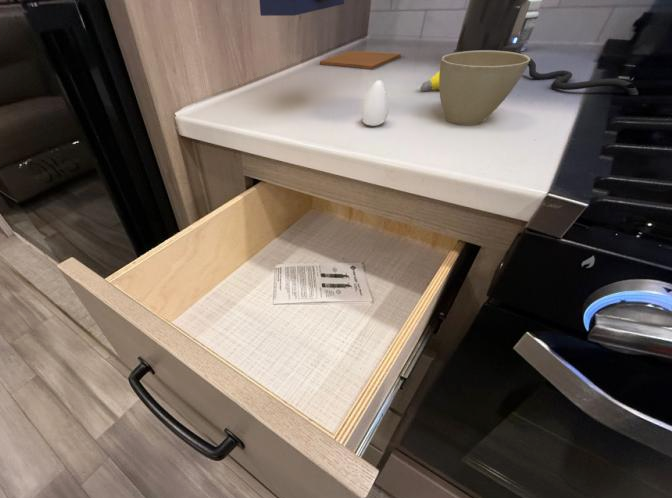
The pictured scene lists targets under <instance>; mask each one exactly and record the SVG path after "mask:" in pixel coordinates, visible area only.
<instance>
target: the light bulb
mask: <svg viewBox="0 0 672 498" xmlns="http://www.w3.org/2000/svg"><path fill="white" fill-rule="evenodd" d="M439 77H440V69H439V70H438V71H437V72H436V73H435V74H434V75H433V76H431V77H430V79H429V80H427V81H424V82H422V84H421V85H420V91H422V92H428V91H429V90H432V91H435V90H438V91H440V90H439Z"/></svg>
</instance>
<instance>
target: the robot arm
mask: <svg viewBox="0 0 672 498" xmlns="http://www.w3.org/2000/svg"><path fill="white" fill-rule="evenodd" d="M316 1H317V2H324V1H328V0H316ZM529 6H530V1H528V0H468V3H467V6H466V9H465V14H464V17H463V21H462V25H461V28H460V32H459V36H458V39H457V43H456V47H455V49H454V50H453V53H457V52H465V51H480V50H491V51H506V52H514V53H519V54H522V53H521V52H522V51H521V49H522V46H523V43H516V41H517V38H518V35H519V33H520V30H521V27H522V25H523V22H524V19H525V17H526V14H527V11H528V9H529ZM520 51H521V52H520ZM528 57H529V58H530V61H529V63H528V65H527V67H528V69H529V70H528V75H529V77H530V78H532V79H533V80H536V81H542V80H543V81H544V80H548V79H549V80H550V79H553V78H556V79H554V80H553V81H552V83H551V86H552V88H554V89H557V90H562V91H573V90H574V91H575V90H582V89H589V88H598V87H615V88H619V89H621V90H623V91H624V92H625V93H626V94H627V95H628V96H629V95H630V96H629V97H632V96H631V95H638V94H639V91H638V89H637V88H636V87H635V88H627V87H623V86H626V85H629V84H632V82H630V81H628V80H625V79H620V78H600V79H592V80H586V81H579V82H567V81H569V80H570V79H572V77H573V73H572V71H569V70H561V69H560V70H554V71H550V72H546V73H540V72H538V71H537V64H536V62H535V61H534V59H532V57H530V56H528Z"/></svg>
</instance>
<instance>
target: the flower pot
mask: <svg viewBox="0 0 672 498" xmlns="http://www.w3.org/2000/svg"><path fill="white" fill-rule="evenodd" d="M529 57H530V56H529V55H525V54H524V53H521V54H519V53H514V52H506V51H491V50H480V51H465V52H457V53H454V52H451V53H448V54H445V55H443V56H442V57H441V59H440V60H441V61H440V64H439V65H440V66H439V70H440V77H439V90H438V91H439V99H440V100H439V101H440V104H441V105H440V106H441V110H442V113H443V116H444V119H445V120H446V121H447V122H449V123H452V124H456V125H465V126H466V125H467V126H468V125H471V126H472V125H478V124H481V123H483V122H484V121H485V120H487V119H488V118H489V117H490V116H491V115H492V114H493V113H494V112H495V111H496V110H497V109H498V107H500V105H502V103H503V102H504V101H505V100H506V98H507V97H508V96H509V94H510V93H511V92H512V91H513V89H514V88H515V87H516V85H517V84H518V82H519V80H520V79H521V77H522V76H523V75H524V73H525V71H526V69H527V67H528V63H529V61H530V58H531V57H530V58H529Z"/></svg>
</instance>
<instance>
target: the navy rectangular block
mask: <svg viewBox="0 0 672 498" xmlns="http://www.w3.org/2000/svg"><path fill="white" fill-rule="evenodd" d="M258 1H259V12H260V14H259V15H260V16H262V17H264V16H265V17H268V16H269V17H275V16H276V17H280V16H283V17H285V16H287V17H288V16H289V17H290V16H291V17H294V16H298V15H303V14H307V13H312V12H315V11H320V10H325V9H329V8H333V7H337V6H342V5H345V0H328V1H324V2H317V1H316V0H258Z"/></svg>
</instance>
